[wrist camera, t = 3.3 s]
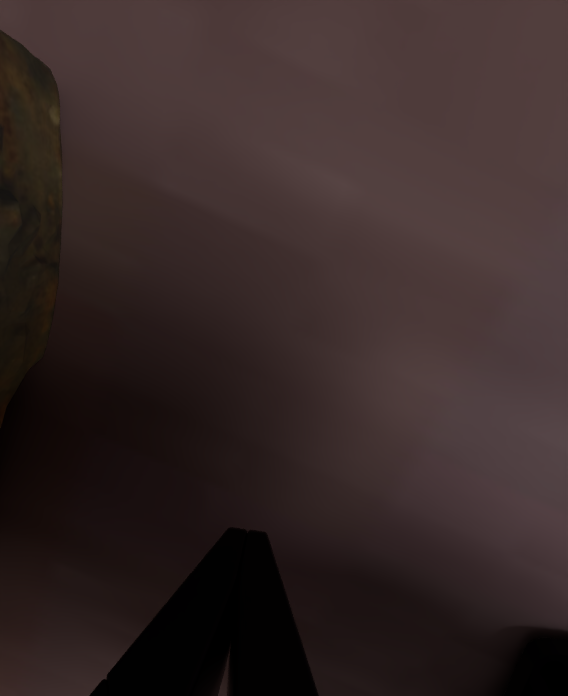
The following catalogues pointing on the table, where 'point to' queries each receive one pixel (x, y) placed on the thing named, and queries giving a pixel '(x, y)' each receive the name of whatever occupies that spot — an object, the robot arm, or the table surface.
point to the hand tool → (27, 211)
